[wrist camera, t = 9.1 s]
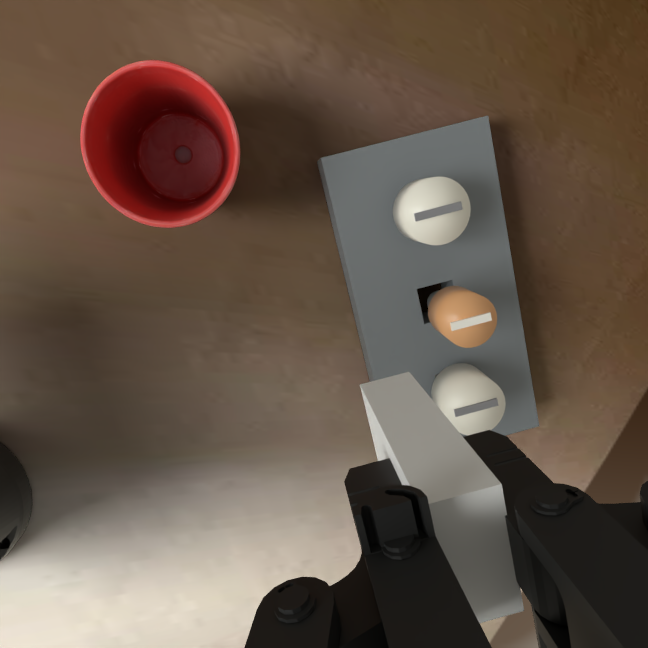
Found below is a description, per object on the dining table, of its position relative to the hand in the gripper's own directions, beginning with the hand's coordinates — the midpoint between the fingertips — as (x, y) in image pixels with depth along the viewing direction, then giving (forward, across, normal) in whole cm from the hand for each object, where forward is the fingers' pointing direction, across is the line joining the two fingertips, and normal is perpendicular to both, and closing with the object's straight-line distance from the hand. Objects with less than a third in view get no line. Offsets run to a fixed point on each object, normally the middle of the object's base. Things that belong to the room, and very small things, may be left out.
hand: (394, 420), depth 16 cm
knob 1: (+33, +10, +4) cm, 35 cm away
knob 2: (+33, +10, -12) cm, 37 cm away
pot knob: (+30, +10, -5) cm, 32 cm away
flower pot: (+35, -8, +12) cm, 38 cm away
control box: (+34, +10, -4) cm, 36 cm away
